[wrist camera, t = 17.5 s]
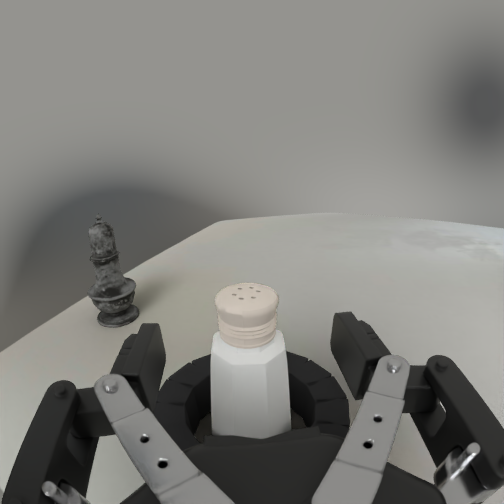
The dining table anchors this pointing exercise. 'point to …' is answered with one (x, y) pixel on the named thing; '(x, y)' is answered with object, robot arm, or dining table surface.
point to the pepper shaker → (249, 365)
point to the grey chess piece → (110, 279)
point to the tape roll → (300, 391)
